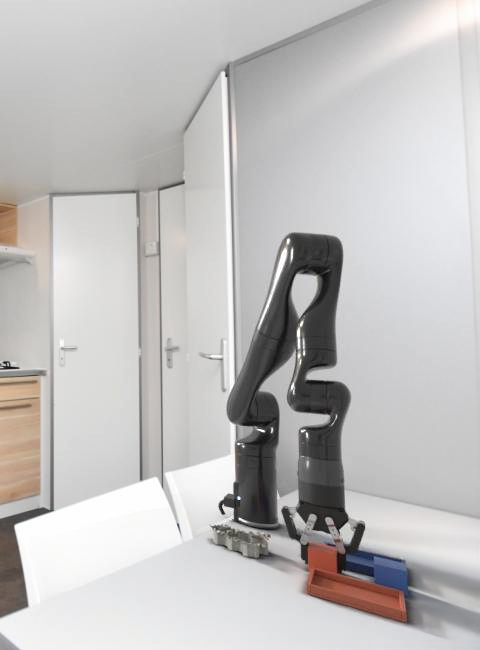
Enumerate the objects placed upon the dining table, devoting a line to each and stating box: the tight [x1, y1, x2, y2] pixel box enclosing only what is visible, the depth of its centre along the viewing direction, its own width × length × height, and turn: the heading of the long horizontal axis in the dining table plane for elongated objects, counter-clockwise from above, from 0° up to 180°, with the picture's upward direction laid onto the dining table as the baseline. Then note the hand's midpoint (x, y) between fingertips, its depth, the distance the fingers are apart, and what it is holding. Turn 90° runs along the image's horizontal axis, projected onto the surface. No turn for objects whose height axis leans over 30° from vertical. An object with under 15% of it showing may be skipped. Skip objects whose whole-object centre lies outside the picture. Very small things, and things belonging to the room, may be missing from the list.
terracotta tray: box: [306, 567, 408, 623], centre depth 84 cm, size 13×9×2 cm
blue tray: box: [323, 541, 409, 586], centre depth 97 cm, size 13×9×2 cm
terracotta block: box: [307, 540, 339, 574], centre depth 94 cm, size 4×4×4 cm
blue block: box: [373, 556, 409, 598], centre depth 88 cm, size 4×4×4 cm
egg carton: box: [209, 523, 272, 559], centre depth 105 cm, size 11×8×4 cm
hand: (323, 566), depth 94 cm, fingers closed on terracotta block, 4 cm apart
